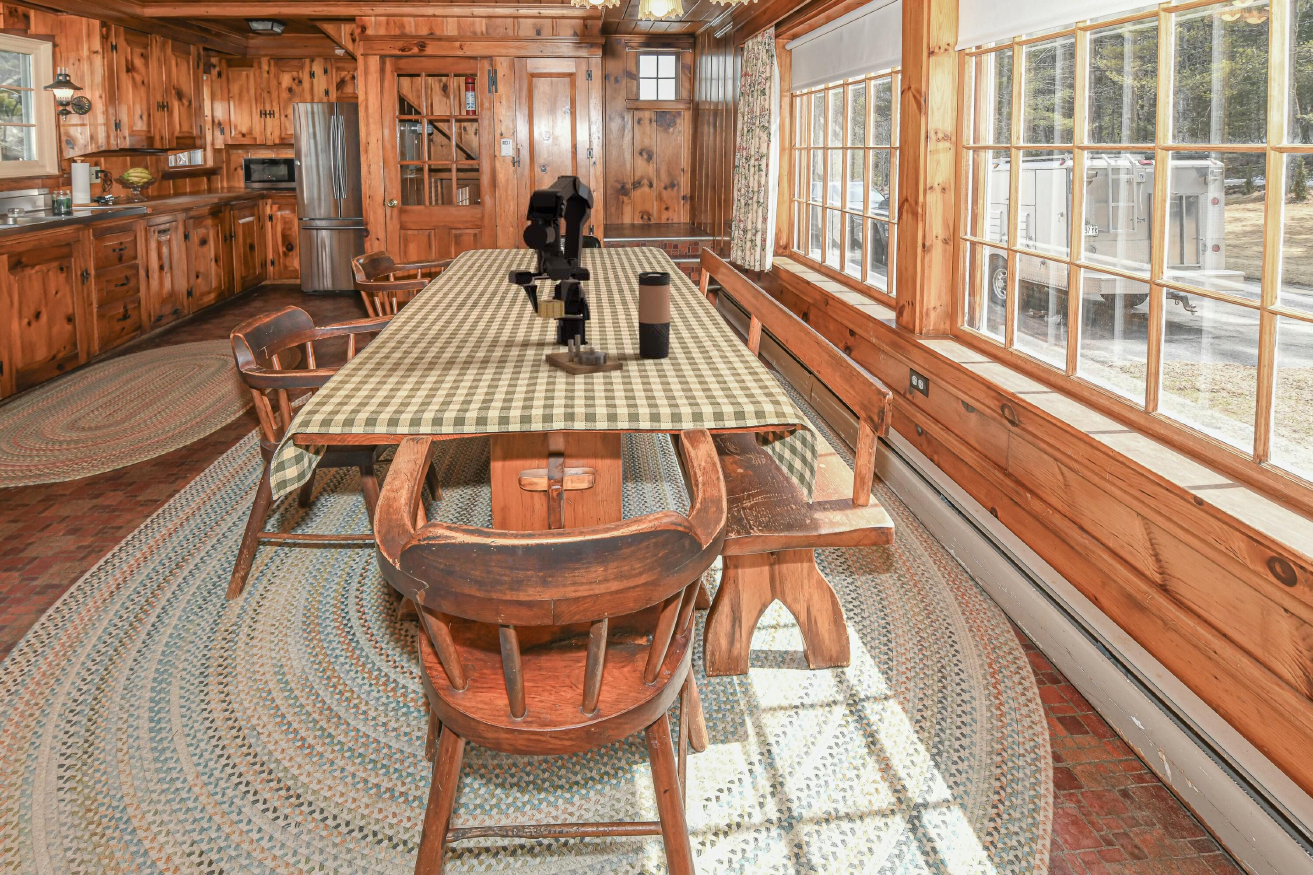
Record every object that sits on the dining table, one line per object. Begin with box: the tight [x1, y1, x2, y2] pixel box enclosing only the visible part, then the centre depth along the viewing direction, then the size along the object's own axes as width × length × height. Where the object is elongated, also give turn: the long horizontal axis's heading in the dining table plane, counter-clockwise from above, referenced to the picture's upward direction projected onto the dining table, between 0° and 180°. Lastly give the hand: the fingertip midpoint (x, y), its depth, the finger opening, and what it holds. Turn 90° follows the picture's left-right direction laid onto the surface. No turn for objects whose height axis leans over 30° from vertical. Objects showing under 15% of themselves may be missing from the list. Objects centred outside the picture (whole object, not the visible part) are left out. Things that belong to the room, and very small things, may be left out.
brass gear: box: [535, 299, 564, 319], centre depth 228 cm, size 7×7×4 cm
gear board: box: [544, 335, 624, 376], centre depth 223 cm, size 12×17×6 cm
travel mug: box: [637, 271, 671, 360], centre depth 231 cm, size 8×8×20 cm
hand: (550, 312), depth 228 cm, fingers closed on brass gear, 7 cm apart
